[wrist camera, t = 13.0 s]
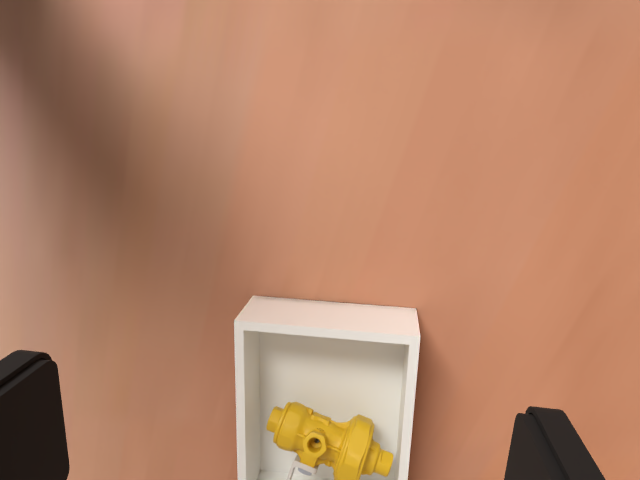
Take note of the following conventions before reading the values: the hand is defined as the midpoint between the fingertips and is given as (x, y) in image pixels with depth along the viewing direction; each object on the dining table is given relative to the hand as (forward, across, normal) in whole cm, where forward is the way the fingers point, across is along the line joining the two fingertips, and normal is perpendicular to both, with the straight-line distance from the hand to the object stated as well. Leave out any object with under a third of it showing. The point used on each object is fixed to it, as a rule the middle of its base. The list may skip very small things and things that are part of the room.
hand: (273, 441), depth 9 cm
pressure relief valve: (+24, +1, +23) cm, 33 cm away
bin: (+27, +1, +17) cm, 32 cm away
